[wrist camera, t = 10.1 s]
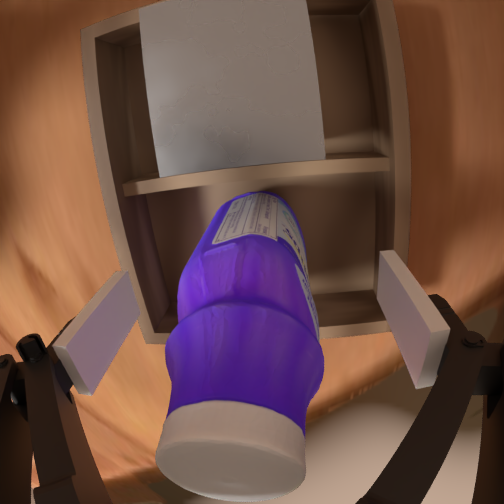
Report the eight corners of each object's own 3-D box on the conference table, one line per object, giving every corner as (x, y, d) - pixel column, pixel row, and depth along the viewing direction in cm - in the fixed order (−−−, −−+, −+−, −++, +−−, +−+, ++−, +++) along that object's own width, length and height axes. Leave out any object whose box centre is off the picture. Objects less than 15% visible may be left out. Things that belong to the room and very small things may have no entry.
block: (198, 157, 21) (159, 177, 14) (182, 39, 18) (138, 9, 11) (310, 145, 20) (325, 159, 13) (295, 23, 17) (302, -20, 10)
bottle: (314, 271, 24) (352, 507, 8) (241, 291, 25) (194, 518, 9) (285, 176, 21) (305, 365, 5) (205, 201, 22) (62, 395, 6)
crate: (165, 307, 27) (145, 343, 22) (116, 41, 18) (80, 29, 14) (381, 293, 25) (399, 330, 20) (367, 7, 16) (388, -18, 12)
